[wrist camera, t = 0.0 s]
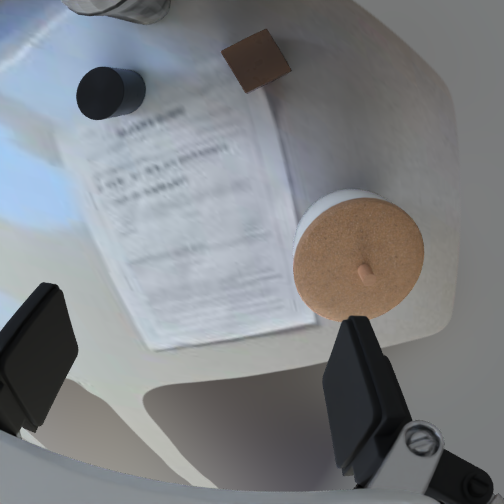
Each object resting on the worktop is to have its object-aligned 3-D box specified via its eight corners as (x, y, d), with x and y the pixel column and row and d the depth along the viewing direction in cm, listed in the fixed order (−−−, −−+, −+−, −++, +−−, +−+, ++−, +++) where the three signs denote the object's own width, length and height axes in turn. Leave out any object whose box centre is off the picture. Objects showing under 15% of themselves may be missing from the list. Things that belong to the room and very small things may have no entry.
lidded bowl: (393, 264, 38) (429, 318, 28) (296, 285, 40) (307, 348, 30) (386, 165, 33) (434, 197, 23) (275, 187, 34) (282, 228, 24)
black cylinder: (95, 88, 29) (67, 89, 23) (131, 60, 28) (107, 55, 22) (117, 123, 31) (92, 130, 25) (154, 97, 30) (133, 98, 24)
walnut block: (225, 57, 28) (220, 51, 24) (265, 37, 27) (266, 28, 23) (247, 94, 30) (245, 93, 26) (287, 74, 29) (292, 70, 25)
